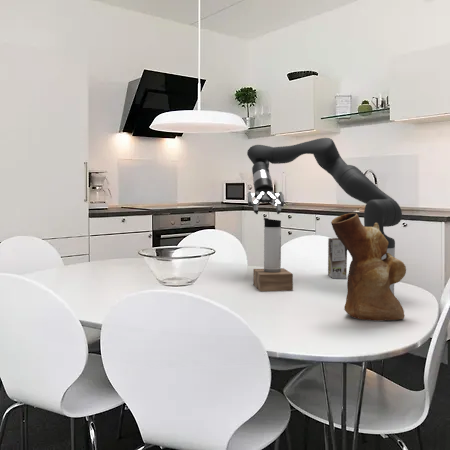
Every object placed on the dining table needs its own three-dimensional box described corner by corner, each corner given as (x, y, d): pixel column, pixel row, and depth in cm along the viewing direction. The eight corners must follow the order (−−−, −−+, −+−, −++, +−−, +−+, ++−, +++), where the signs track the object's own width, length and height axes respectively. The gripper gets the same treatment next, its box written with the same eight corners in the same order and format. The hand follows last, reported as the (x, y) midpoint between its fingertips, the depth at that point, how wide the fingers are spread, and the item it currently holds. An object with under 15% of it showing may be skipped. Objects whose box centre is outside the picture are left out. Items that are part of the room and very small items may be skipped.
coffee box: (347, 278, 213) (347, 239, 212) (331, 278, 213) (331, 239, 212) (342, 275, 222) (343, 237, 221) (327, 275, 222) (328, 237, 221)
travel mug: (260, 270, 195) (260, 217, 194) (275, 269, 198) (275, 217, 197) (268, 273, 190) (268, 218, 188) (283, 271, 192) (284, 218, 191)
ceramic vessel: (415, 322, 143) (418, 213, 141) (342, 326, 138) (343, 214, 136) (386, 309, 158) (388, 211, 156) (319, 312, 154) (320, 212, 152)
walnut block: (292, 290, 188) (292, 274, 187) (260, 291, 186) (260, 274, 186) (283, 283, 202) (283, 268, 201) (253, 284, 200) (253, 268, 200)
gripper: (246, 176, 209) (251, 206, 198) (281, 177, 210) (287, 206, 200) (244, 189, 214) (248, 219, 204) (278, 190, 216) (284, 219, 205)
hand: (267, 212), depth 202 cm, fingers open, 8 cm apart
